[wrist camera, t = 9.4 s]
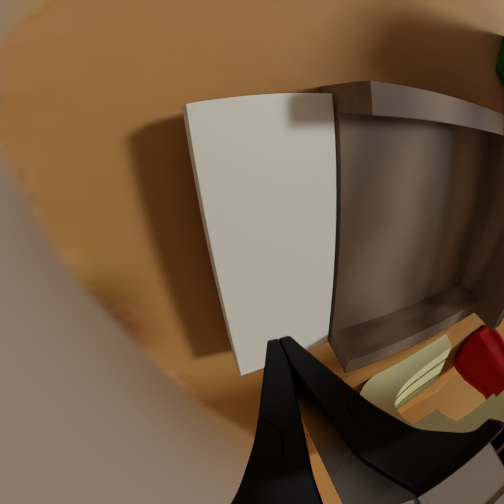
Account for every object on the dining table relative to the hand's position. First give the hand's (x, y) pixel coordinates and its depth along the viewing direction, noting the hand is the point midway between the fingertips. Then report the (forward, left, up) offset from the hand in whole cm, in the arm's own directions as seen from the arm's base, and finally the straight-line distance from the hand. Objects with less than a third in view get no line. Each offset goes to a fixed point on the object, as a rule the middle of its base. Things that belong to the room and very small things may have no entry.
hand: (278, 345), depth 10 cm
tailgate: (-5, 0, -6) cm, 8 cm away
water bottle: (-37, +28, -8) cm, 47 cm away
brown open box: (-13, 0, -8) cm, 15 cm away
